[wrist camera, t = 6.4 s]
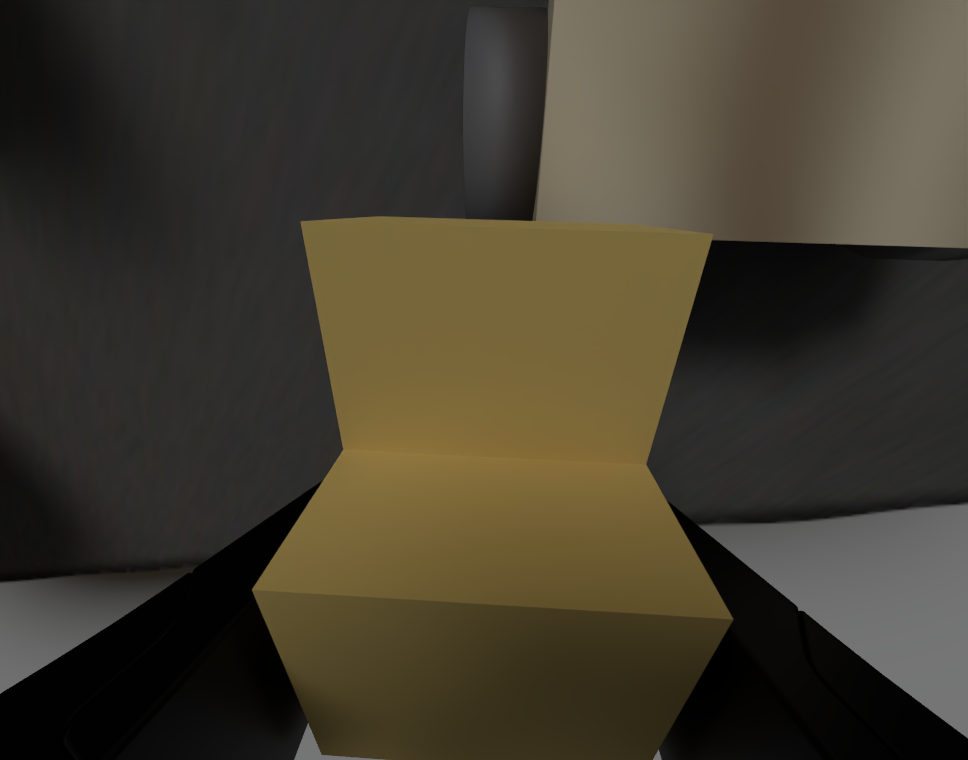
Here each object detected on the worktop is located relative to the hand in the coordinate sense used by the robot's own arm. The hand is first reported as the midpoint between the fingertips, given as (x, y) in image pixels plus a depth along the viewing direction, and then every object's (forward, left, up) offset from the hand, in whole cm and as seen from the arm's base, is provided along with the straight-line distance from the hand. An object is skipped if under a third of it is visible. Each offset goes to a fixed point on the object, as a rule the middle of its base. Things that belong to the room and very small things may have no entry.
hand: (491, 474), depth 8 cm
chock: (0, -1, -1) cm, 2 cm away
